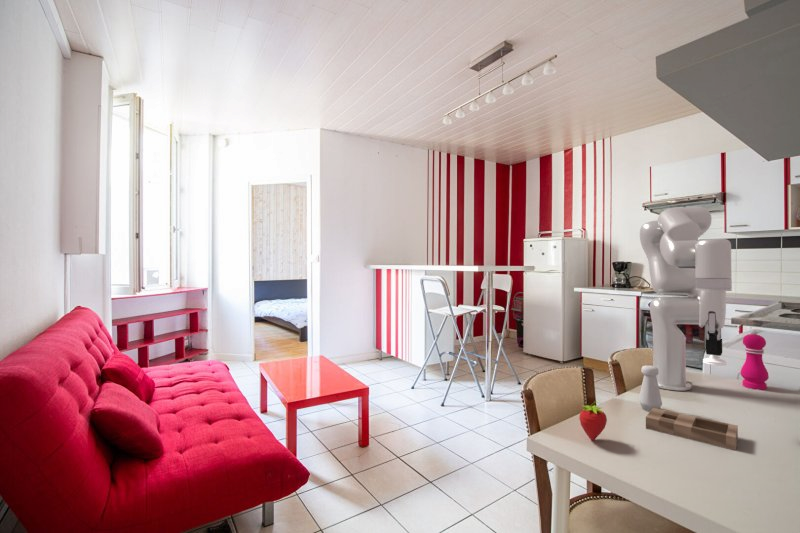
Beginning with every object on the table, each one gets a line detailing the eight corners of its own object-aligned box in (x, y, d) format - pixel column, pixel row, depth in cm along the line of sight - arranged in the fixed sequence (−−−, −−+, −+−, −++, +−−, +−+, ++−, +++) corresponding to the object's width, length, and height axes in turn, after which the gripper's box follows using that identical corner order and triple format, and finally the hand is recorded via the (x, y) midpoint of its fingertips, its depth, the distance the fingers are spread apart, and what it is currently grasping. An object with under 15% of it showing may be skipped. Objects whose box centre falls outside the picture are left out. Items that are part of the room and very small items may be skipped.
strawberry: (611, 439, 96) (611, 399, 96) (599, 449, 91) (599, 407, 91) (587, 431, 101) (586, 393, 101) (574, 441, 96) (574, 400, 96)
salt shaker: (655, 406, 118) (654, 363, 118) (666, 413, 112) (666, 369, 112) (635, 405, 118) (634, 363, 118) (645, 413, 113) (644, 368, 112)
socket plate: (653, 418, 109) (653, 407, 109) (737, 437, 96) (737, 425, 96) (645, 428, 102) (645, 417, 102) (735, 450, 90) (735, 437, 90)
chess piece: (700, 363, 103) (700, 325, 103) (705, 360, 106) (704, 324, 106) (724, 366, 99) (723, 327, 99) (728, 363, 103) (727, 325, 103)
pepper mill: (754, 383, 138) (753, 328, 138) (774, 390, 131) (774, 331, 131) (735, 384, 138) (734, 328, 138) (754, 390, 130) (754, 332, 130)
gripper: (698, 283, 111) (699, 347, 111) (691, 285, 100) (692, 357, 100) (733, 284, 106) (734, 351, 106) (730, 286, 95) (731, 361, 95)
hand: (714, 353), depth 103 cm, fingers closed on chess piece
